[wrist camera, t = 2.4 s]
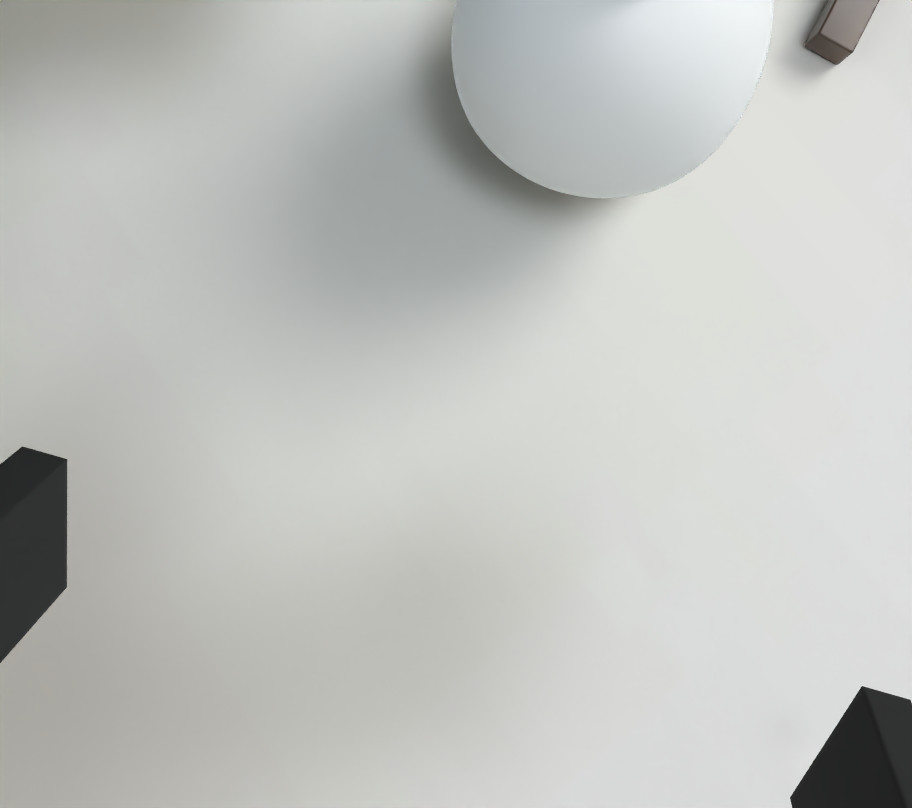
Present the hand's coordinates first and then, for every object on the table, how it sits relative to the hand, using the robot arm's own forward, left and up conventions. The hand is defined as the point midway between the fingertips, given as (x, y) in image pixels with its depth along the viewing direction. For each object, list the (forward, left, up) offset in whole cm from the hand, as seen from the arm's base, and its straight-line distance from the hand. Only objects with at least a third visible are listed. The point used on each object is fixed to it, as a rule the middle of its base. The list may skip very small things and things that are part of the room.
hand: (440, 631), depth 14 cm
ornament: (-2, +17, -19) cm, 26 cm away
